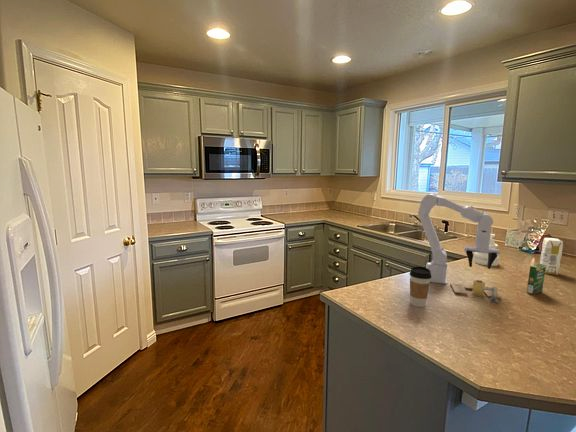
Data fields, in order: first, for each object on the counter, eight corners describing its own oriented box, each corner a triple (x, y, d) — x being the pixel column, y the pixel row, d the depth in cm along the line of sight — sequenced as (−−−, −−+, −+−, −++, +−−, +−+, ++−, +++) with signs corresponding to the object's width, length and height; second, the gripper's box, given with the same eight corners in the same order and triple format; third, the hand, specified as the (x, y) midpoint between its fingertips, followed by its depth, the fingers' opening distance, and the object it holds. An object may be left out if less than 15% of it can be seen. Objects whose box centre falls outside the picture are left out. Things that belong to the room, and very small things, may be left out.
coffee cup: (427, 301, 134) (431, 267, 132) (429, 309, 126) (433, 273, 124) (406, 298, 137) (409, 265, 135) (407, 306, 129) (410, 271, 127)
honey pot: (497, 262, 196) (501, 233, 193) (498, 267, 185) (502, 237, 183) (473, 258, 203) (477, 230, 200) (472, 263, 192) (476, 234, 189)
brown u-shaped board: (455, 294, 143) (455, 292, 143) (450, 285, 154) (450, 282, 154) (501, 300, 137) (501, 297, 137) (492, 290, 149) (492, 287, 149)
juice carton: (542, 273, 175) (548, 240, 173) (537, 269, 183) (542, 237, 180) (559, 275, 173) (565, 241, 170) (553, 271, 181) (558, 238, 178)
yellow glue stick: (473, 295, 142) (475, 281, 141) (471, 291, 146) (472, 278, 145) (484, 297, 141) (486, 283, 140) (482, 293, 145) (483, 279, 144)
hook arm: (480, 300, 137) (482, 287, 136) (478, 297, 140) (480, 284, 139) (498, 302, 135) (500, 289, 134) (496, 300, 138) (497, 286, 137)
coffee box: (532, 295, 144) (536, 267, 142) (525, 292, 147) (529, 265, 145) (542, 292, 148) (546, 265, 146) (535, 290, 150) (539, 263, 148)
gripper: (467, 239, 147) (464, 268, 149) (503, 242, 143) (499, 271, 145) (464, 236, 154) (461, 263, 156) (498, 239, 150) (494, 267, 152)
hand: (479, 267), depth 151 cm, fingers open, 7 cm apart
